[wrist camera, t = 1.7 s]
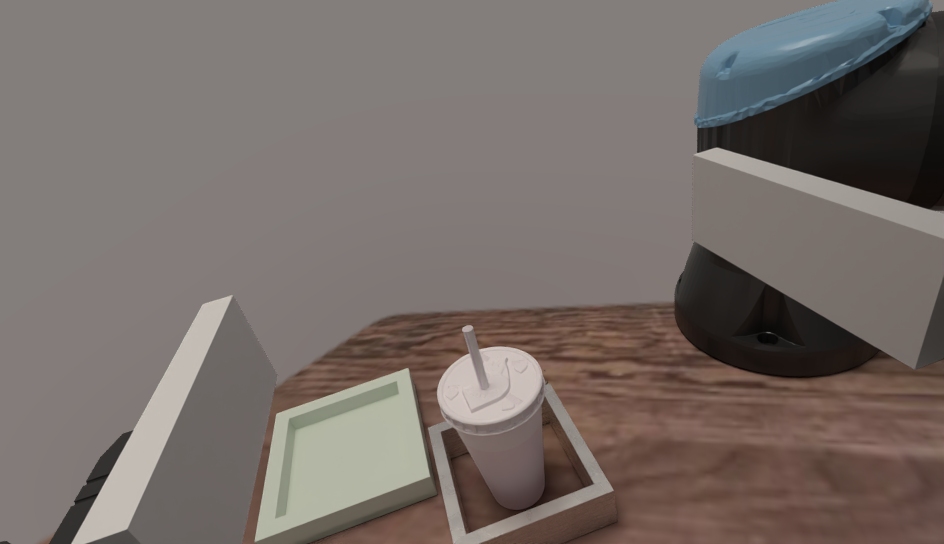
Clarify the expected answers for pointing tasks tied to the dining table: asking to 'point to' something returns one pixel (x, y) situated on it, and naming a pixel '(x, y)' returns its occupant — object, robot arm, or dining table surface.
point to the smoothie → (499, 418)
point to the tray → (345, 462)
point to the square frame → (546, 526)
